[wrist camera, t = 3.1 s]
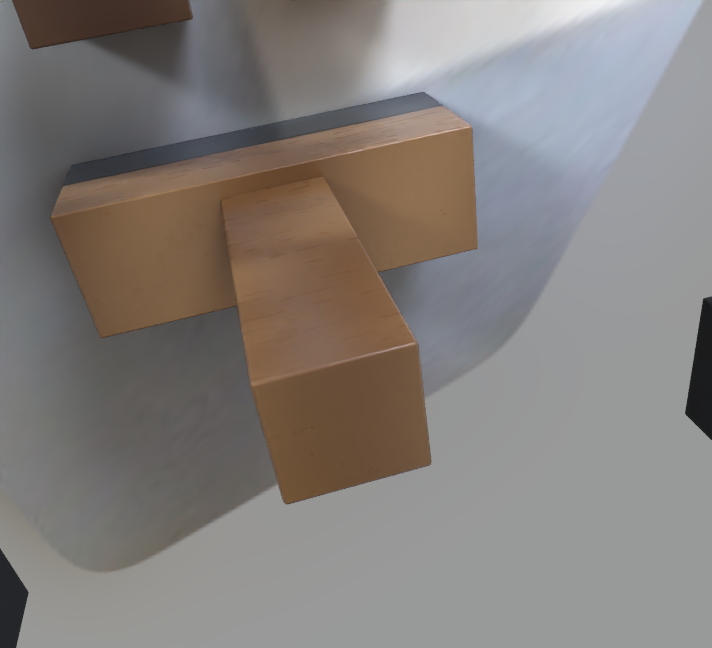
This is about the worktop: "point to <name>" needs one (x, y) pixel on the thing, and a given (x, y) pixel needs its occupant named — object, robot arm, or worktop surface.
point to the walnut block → (93, 18)
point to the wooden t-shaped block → (289, 267)
